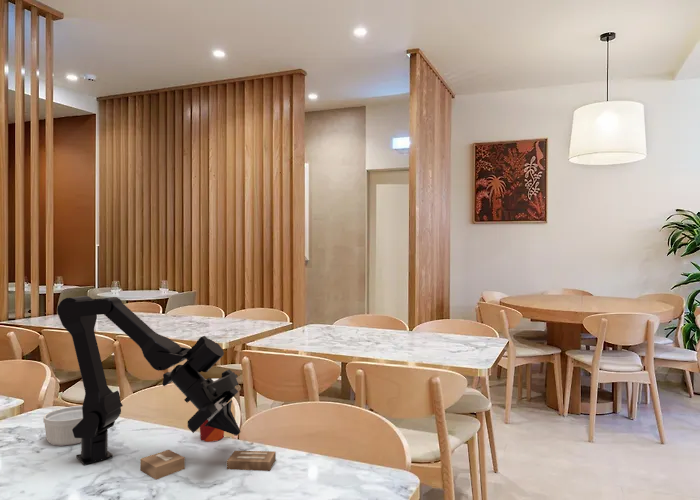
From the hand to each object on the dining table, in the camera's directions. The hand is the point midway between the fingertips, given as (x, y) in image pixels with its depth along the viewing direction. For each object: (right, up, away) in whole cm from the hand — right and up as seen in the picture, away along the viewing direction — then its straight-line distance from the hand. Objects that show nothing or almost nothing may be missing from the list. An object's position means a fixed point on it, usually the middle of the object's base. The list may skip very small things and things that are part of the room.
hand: (238, 433), depth 117 cm
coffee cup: (-11, -7, +17) cm, 21 cm away
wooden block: (-2, -6, 0) cm, 7 cm away
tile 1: (-17, -7, -3) cm, 19 cm away
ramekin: (-48, -7, +16) cm, 52 cm away
